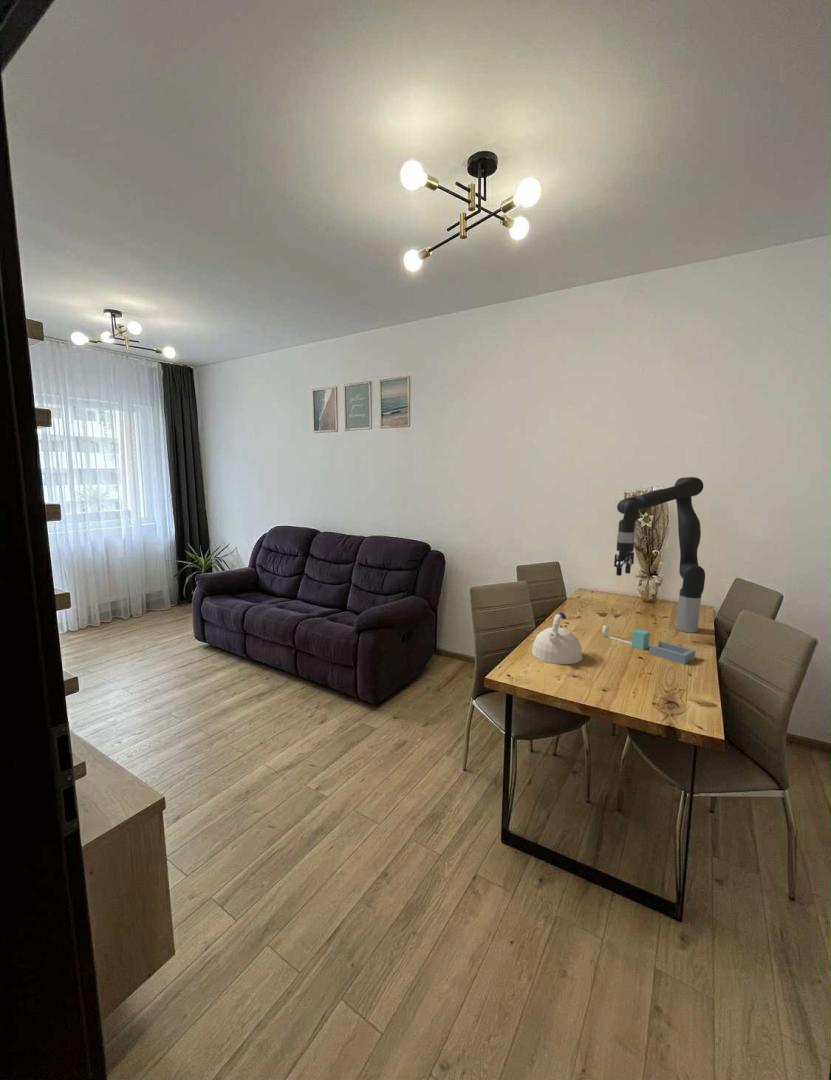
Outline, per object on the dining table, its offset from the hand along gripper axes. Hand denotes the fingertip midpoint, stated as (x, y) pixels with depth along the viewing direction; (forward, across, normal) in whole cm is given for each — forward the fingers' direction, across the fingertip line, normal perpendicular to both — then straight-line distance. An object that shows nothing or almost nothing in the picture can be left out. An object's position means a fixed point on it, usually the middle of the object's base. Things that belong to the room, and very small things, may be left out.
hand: (623, 574), depth 216 cm
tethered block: (+28, +14, +9) cm, 33 cm away
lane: (+28, +14, +30) cm, 43 cm away
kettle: (+28, +52, 0) cm, 59 cm away
